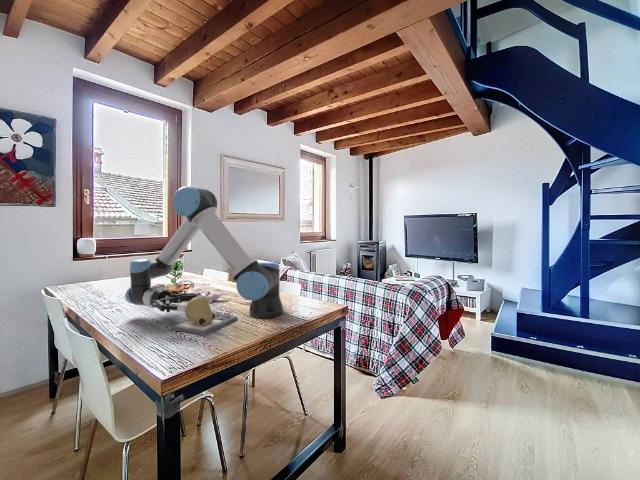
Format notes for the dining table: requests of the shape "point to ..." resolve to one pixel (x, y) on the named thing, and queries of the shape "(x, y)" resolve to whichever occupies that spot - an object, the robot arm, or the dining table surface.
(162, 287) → the tin
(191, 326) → the breaker panel
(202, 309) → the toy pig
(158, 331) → the dining table surface
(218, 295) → the rabbit figure
